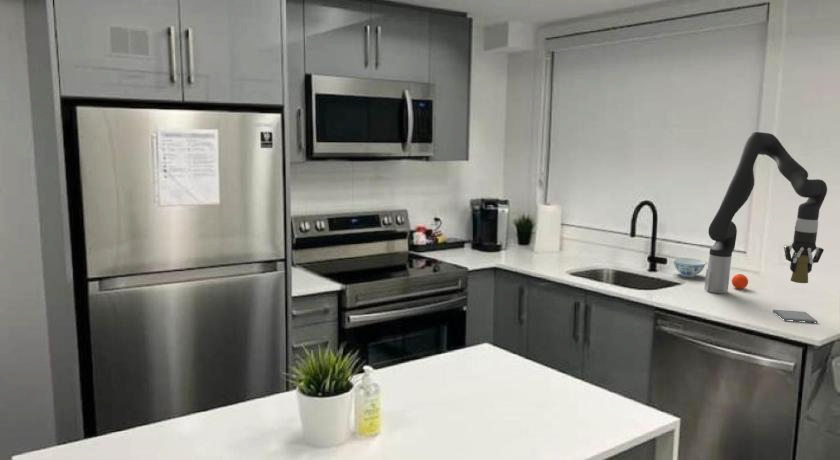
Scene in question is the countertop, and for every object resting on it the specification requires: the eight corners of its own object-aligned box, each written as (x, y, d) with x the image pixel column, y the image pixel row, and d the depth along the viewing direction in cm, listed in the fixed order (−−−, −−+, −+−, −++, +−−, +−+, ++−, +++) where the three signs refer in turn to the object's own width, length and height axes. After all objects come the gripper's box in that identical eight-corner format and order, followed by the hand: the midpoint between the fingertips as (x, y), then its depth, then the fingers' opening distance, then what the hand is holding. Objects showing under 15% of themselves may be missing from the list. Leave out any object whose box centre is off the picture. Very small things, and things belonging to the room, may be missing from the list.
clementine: (733, 285, 292) (734, 271, 290) (749, 288, 287) (751, 273, 286) (729, 288, 286) (730, 274, 284) (745, 291, 281) (747, 276, 280)
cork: (810, 283, 238) (814, 256, 236) (793, 282, 239) (797, 255, 237) (804, 279, 244) (807, 253, 242) (788, 278, 245) (791, 252, 243)
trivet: (783, 321, 240) (783, 318, 240) (772, 311, 251) (773, 309, 251) (817, 323, 237) (817, 320, 237) (804, 314, 249) (805, 311, 249)
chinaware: (683, 270, 319) (684, 256, 317) (710, 277, 307) (711, 262, 305) (665, 274, 311) (667, 259, 309) (692, 281, 298) (694, 265, 297)
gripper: (789, 230, 236) (784, 273, 239) (830, 232, 233) (824, 275, 236) (782, 227, 243) (777, 268, 246) (822, 229, 240) (816, 271, 243)
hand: (800, 271), depth 241 cm, fingers closed on cork, 4 cm apart
